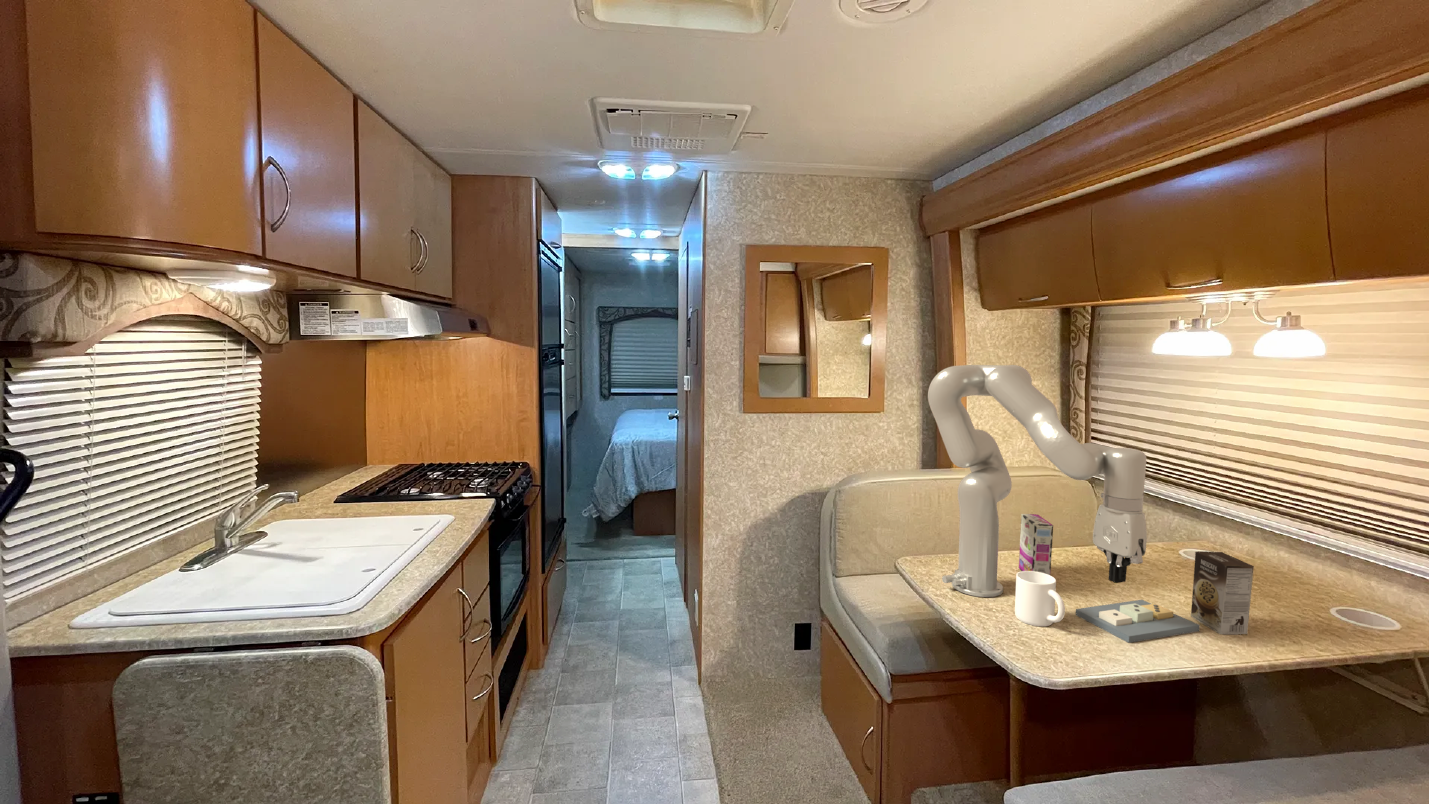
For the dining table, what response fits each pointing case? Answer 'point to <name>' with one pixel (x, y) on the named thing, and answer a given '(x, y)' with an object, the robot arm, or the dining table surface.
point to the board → (1138, 624)
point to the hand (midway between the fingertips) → (1117, 581)
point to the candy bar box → (1035, 544)
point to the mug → (1037, 599)
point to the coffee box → (1222, 592)
